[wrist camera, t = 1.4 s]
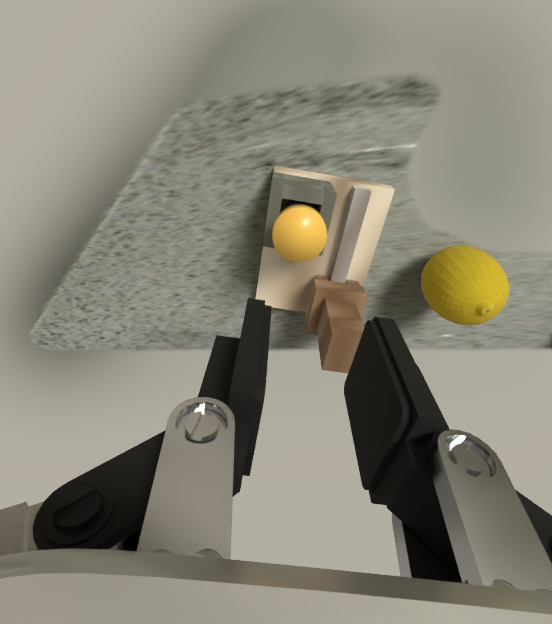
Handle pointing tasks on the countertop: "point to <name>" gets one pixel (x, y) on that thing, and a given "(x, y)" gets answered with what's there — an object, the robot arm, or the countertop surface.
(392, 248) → the countertop surface
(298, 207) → the button
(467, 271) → the lemon
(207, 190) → the countertop surface
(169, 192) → the countertop surface
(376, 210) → the rail base
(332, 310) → the block
